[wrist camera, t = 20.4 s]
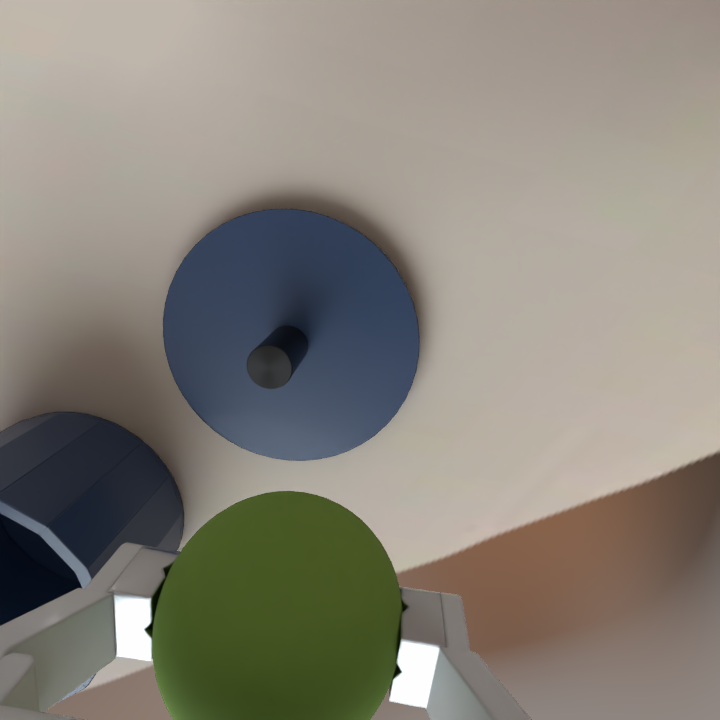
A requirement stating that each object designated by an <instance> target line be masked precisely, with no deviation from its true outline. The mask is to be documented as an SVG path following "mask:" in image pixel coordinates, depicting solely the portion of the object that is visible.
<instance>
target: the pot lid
mask: <svg viewBox="0 0 720 720" xmlns="http://www.w3.org/2000/svg"><path fill="white" fill-rule="evenodd" d="M163 337H164V344H165V352H166V355H167V359H168V363H169V367H170V369H171V372H172V374H173V377H174V379H175V382H176V384H177V385H178V387H179V389H180V391H181V393H182V395H183V396H184V398H185V399H186V400H187V402H188V403H189V405H190V406H191V407H192V409H193V410H194V411H195V412H196V413H197V414H198V416H199V417H200V418H201V419H202V420H203V421H204V422H205V423H206V424H207V425H209V426H210V427H211V428H212V429H213V430H214V431H215V432H217V433H218V434H220V435H221V436H223V437H224V438H226V439H227V440H228V441H230V442H232V443H234V444H236V445H238V446H240V447H241V448H244V449H246V450H249V451H251V452H254V453H256V454H259V455H263V456H267V457H271V458H276V459H283V460H296V461H305V460H317V459H322V458H327V457H332V456H335V455H338V454H341V453H344V452H347V451H349V450H351V449H353V448H355V447H357V446H359V445H361V444H363V443H364V442H366V441H367V440H369V439H370V438H372V437H373V436H375V435H376V434H377V433H378V432H379V431H380V430H381V429H382V428H384V427H385V426H386V425H387V424H388V423H389V421H390V420H391V419H392V418H393V417H394V416H395V414H396V413H397V412H398V410H399V408H400V407H401V405H402V404H403V402H404V401H405V399H406V397H407V395H408V392H409V390H410V388H411V386H412V383H413V380H414V376H415V373H416V369H417V363H418V357H419V329H418V320H417V316H416V312H415V308H414V304H413V301H412V298H411V296H410V293H409V291H408V288H407V286H406V284H405V282H404V281H403V279H402V277H401V275H400V273H399V272H398V270H397V269H396V267H395V266H394V265H393V263H392V262H391V261H390V259H389V258H388V257H387V256H386V255H385V254H384V253H383V252H382V251H381V250H380V249H379V248H378V247H377V246H376V244H374V243H373V242H372V241H371V240H369V239H368V238H367V237H366V236H364V235H363V234H362V233H360V232H359V231H357V230H355V229H354V228H352V227H350V226H349V225H347V224H345V223H343V222H341V221H338V220H336V219H334V218H331V217H329V216H326V215H322V214H318V213H315V212H311V211H304V210H297V209H270V210H263V211H257V212H253V213H249V214H246V215H243V216H239V217H237V218H235V219H233V220H230V221H228V222H226V223H224V224H222V225H221V226H219V227H218V228H216V229H214V230H213V231H211V232H210V233H208V234H207V235H206V236H205V237H204V238H203V239H202V240H201V241H199V242H198V243H197V244H196V245H195V246H194V247H193V249H192V250H191V251H190V252H189V253H188V255H187V256H186V257H185V258H184V260H183V262H182V263H181V265H180V267H179V268H178V270H177V271H176V274H175V276H174V278H173V281H172V283H171V285H170V288H169V291H168V295H167V299H166V302H165V309H164V317H163Z"/></svg>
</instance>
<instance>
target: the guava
mask: <svg viewBox="0 0 720 720" xmlns="http://www.w3.org/2000/svg"><path fill="white" fill-rule="evenodd" d="M402 613H403V608H402V601H401V593H400V588H399V584H398V581H397V576H396V573H395V571H394V568H393V565H392V563H391V561H390V559H389V557H388V555H387V553H386V551H385V549H384V547H383V546H382V544H381V542H380V541H379V540H378V538H377V537H376V536H375V534H374V533H373V532H372V531H371V529H370V528H369V527H368V526H367V525H366V524H365V523H364V522H363V521H362V520H361V519H360V518H359V517H357V516H356V515H355V514H354V513H352V512H351V511H349V510H348V509H346V508H345V507H343V506H341V505H340V504H338V503H335V502H333V501H331V500H329V499H327V498H324V497H321V496H318V495H314V494H309V493H304V492H294V491H278V492H271V493H265V494H261V495H257V496H254V497H250V498H247V499H245V500H242V501H240V502H238V503H235V504H234V505H232V506H230V507H229V508H227V509H225V510H224V511H222V512H220V513H219V514H217V515H216V516H214V517H213V518H212V519H211V520H209V521H208V522H207V523H206V524H205V525H204V526H203V527H201V528H200V529H199V530H198V531H197V532H196V533H195V535H194V536H193V537H192V538H191V539H190V540H189V541H188V543H187V544H186V545H185V547H184V548H183V549H182V551H181V552H180V554H179V555H178V557H177V558H176V560H175V562H174V563H173V565H172V567H171V569H170V571H169V573H168V575H167V577H166V580H165V582H164V584H163V587H162V590H161V593H160V596H159V599H158V603H157V607H156V612H155V617H154V623H153V635H152V653H153V663H154V669H155V676H156V680H157V683H158V687H159V690H160V693H161V695H162V698H163V700H164V703H165V705H166V708H167V710H168V712H169V713H170V715H171V717H172V718H173V720H370V719H371V718H372V716H373V715H374V713H375V712H376V710H377V709H378V707H379V705H380V704H381V702H382V700H383V699H384V697H385V695H386V693H387V691H388V689H389V686H390V684H391V682H392V679H393V676H394V673H395V670H396V667H397V663H396V660H397V654H398V645H399V635H400V622H401V614H402Z"/></svg>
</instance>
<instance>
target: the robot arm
mask: <svg viewBox="0 0 720 720" xmlns="http://www.w3.org/2000/svg"><path fill="white" fill-rule="evenodd" d="M179 554H180V552H179V551H174V550H168V549H163V548H157V547H152V546H147V545H146V546H144V545H139V544H133V543H128V542H126V543H124V544H122V545H121V546H120V547H119V548H118V549H117V551H116V552H115V553H114V554H113V555H112V556H111V558H110V559H109V560H108V561H107V562H106V564H105V565H104V566H103V567H102V568H101V570H100V571H99V572H98V573H97V574H96V576H95V577H94V578H93V579H92V580H91V581H90V583H89V584H88V585H87V586H86V587H85V589H83V588H77V589H75V590H73V591H71V592H69V593H67V594H65V595H63V596H61V597H59V598H57V599H55V600H52V601H50V602H48V603H46V604H44V605H42V606H40V607H38V608H36V609H34V610H32V611H30V612H28V613H26V614H24V615H22V616H20V617H18V618H15V619H13V620H11V621H9V622H7V623H5V624H3V625H1V626H0V720H85V719H79V718H73V717H67V716H61V715H56V714H50V713H44V712H45V711H47V710H48V709H49V708H51V707H52V706H53V705H55V704H56V703H57V702H59V701H60V700H61V699H63V698H64V697H65V696H67V695H68V694H69V693H71V692H72V691H73V690H74V689H76V688H77V687H78V686H80V685H81V684H82V683H84V682H85V681H86V680H88V679H89V678H90V677H92V676H93V675H94V674H96V673H97V672H98V671H99V670H101V669H102V668H103V667H105V666H106V665H107V664H109V663H110V662H111V661H113V660H114V659H115V656H118V657H126V658H133V659H140V660H148V661H152V660H153V653H152V635H153V623H154V617H155V612H156V607H157V603H158V599H159V596H160V593H161V590H162V587H163V584H164V582H165V580H166V577H167V575H168V573H169V571H170V569H171V567H172V565H173V563H174V562H175V560H176V558H177V557H178V555H179ZM400 593H401V601H402V608H403V613H402V614H401V622H400V635H399V645H398V654H397V660H396V663H397V667H396V670H395V673H394V676H393V679H392V682H391V684H390V692H389V701H392V702H397V703H402V704H407V705H412V706H417V707H422V708H426V712H427V714H428V715H429V717H430V719H431V720H532V719H531V718H530V717H529V716H528V714H527V713H526V712H525V711H524V710H523V708H522V707H521V706H520V705H519V703H518V702H517V701H516V700H515V699H514V697H513V696H512V695H511V694H510V693H509V691H508V690H507V689H506V688H505V687H504V685H503V684H502V683H501V682H500V680H499V679H498V678H497V677H496V676H495V674H494V673H493V672H492V671H491V670H490V668H489V667H488V666H487V665H486V664H485V662H484V661H483V660H482V659H481V657H480V656H479V655H478V654H477V653H475V652H471V651H470V645H469V639H468V633H467V627H466V621H465V615H464V609H463V604H462V598H461V597H460V595H455V594H448V593H441V592H440V593H438V592H432V591H425V590H419V589H412V588H405V587H400Z"/></svg>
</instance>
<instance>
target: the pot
mask: <svg viewBox="0 0 720 720" xmlns="http://www.w3.org/2000/svg"><path fill="white" fill-rule="evenodd" d="M183 526H184V513H183V506H182V501H181V497H180V494H179V490H178V488H177V486H176V484H175V481H174V479H173V477H172V476H171V474H170V472H169V470H168V469H167V467H166V466H165V465H164V463H163V462H162V461H161V459H160V458H159V457H158V456H157V455H156V454H155V453H154V451H153V450H152V449H151V448H150V447H149V446H148V445H146V444H145V443H144V442H143V441H142V440H140V439H139V438H138V437H136V436H135V435H133V434H132V433H130V432H129V431H127V430H126V429H124V428H122V427H120V426H118V425H116V424H114V423H112V422H110V421H107V420H105V419H102V418H99V417H95V416H91V415H88V414H82V413H74V412H55V413H47V414H43V415H39V416H35V417H33V418H30V419H26V420H22V421H20V422H18V423H16V424H14V425H12V426H11V427H9V428H7V429H5V430H3V431H1V432H0V626H1V625H3V624H5V623H7V622H9V621H11V620H13V619H15V618H18V617H20V616H22V615H24V614H26V613H28V612H30V611H32V610H34V609H36V608H38V607H40V606H42V605H44V604H46V603H48V602H50V601H52V600H55V599H57V598H59V597H61V596H63V595H65V594H67V593H69V592H71V591H73V590H75V589H77V588H83V589H85V587H86V586H87V585H88V584H89V583H90V581H91V580H92V579H93V578H94V577H95V576H96V574H97V573H98V572H99V571H100V570H101V568H102V567H103V566H104V565H105V564H106V562H107V561H108V560H109V559H110V558H111V556H112V555H113V554H114V553H115V552H116V551H117V549H118V548H119V547H120V546H121V545H122V544H124V543H126V542H128V543H133V544H139V545H144V546H146V545H147V546H152V547H157V548H163V549H168V550H174V551H177V550H178V548H179V544H180V541H181V538H182V533H183ZM95 675H96V674H94V675H93V676H92V677H90V678H89V679H88V680H86V681H85V682H84V683H82V684H81V685H80V686H78V687H77V688H76V689H74V690H73V691H72V692H71V693H69V694H68V695H67V696H65V697H64V698H63V699H61V700H60V701H62V700H64V699H66V698H68V697H69V696H71V695H73V694H75V693H77V692H79V691H81V690H82V689H84V688H86V687H87V686H88V685H89V684H90V682H91V681H92V679H93V678H94V676H95ZM60 701H59V702H60ZM57 703H58V702H57ZM57 703H56V704H57Z"/></svg>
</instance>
